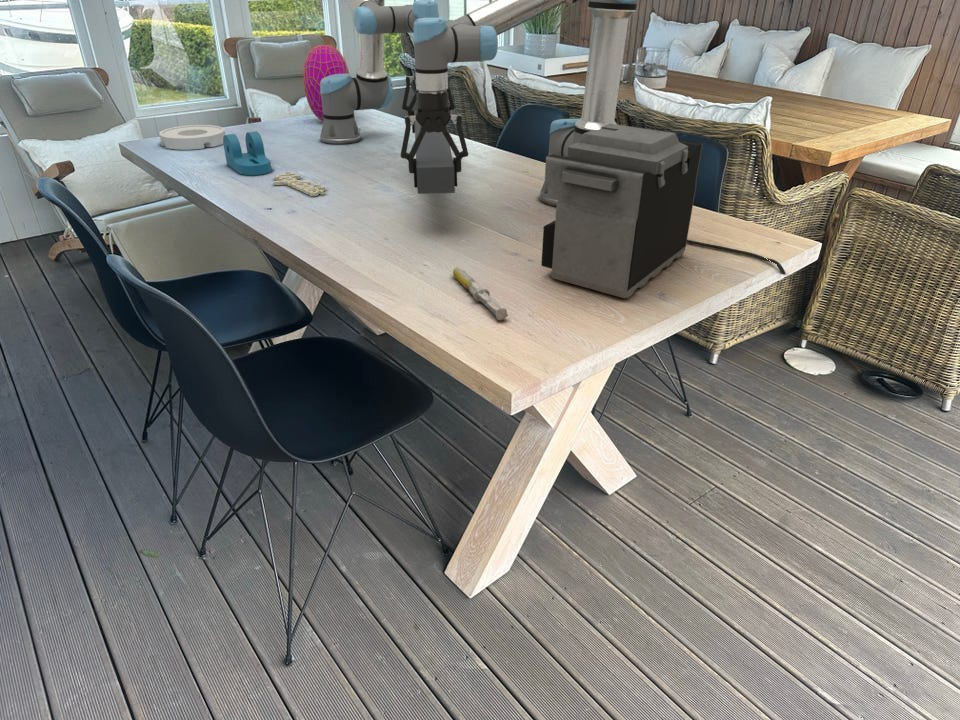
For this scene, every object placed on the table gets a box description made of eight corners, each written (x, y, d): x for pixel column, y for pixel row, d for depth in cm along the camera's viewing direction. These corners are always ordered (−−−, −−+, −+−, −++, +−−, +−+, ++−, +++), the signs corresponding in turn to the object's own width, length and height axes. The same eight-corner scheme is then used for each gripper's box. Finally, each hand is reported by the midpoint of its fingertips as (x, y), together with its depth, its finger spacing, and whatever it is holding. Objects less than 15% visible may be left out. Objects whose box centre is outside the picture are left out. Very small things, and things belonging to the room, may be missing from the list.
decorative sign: (262, 176, 218) (290, 170, 223) (262, 179, 218) (291, 173, 224) (303, 195, 201) (333, 189, 206) (303, 198, 201) (333, 192, 207)
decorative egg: (337, 115, 306) (331, 41, 291) (362, 122, 294) (356, 45, 279) (299, 120, 295) (290, 44, 280) (323, 128, 283) (315, 49, 267)
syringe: (449, 274, 155) (449, 263, 153) (465, 272, 156) (464, 260, 154) (490, 323, 135) (491, 310, 133) (508, 319, 136) (508, 307, 134)
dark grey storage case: (608, 233, 179) (621, 113, 163) (689, 253, 168) (712, 126, 152) (533, 279, 153) (540, 141, 138) (624, 305, 142) (643, 159, 127)
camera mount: (227, 164, 233) (221, 132, 227) (257, 160, 238) (252, 129, 233) (244, 176, 220) (239, 143, 215) (276, 172, 225) (271, 139, 220)
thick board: (454, 192, 170) (454, 166, 166) (417, 193, 169) (416, 167, 166) (442, 130, 227) (442, 110, 224) (414, 131, 226) (413, 110, 223)
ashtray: (176, 134, 270) (174, 124, 268) (235, 135, 269) (233, 125, 267) (150, 149, 250) (147, 137, 248) (213, 150, 249) (211, 139, 247)
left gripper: (462, 55, 215) (462, 129, 226) (391, 55, 213) (395, 129, 225) (463, 58, 208) (463, 134, 220) (390, 58, 207) (394, 135, 218)
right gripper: (477, 87, 166) (477, 179, 177) (385, 89, 164) (392, 182, 176) (479, 93, 159) (480, 188, 171) (384, 94, 158) (391, 191, 169)
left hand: (429, 132), depth 222 cm, fingers closed on thick board, 9 cm apart
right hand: (435, 185), depth 173 cm, fingers closed on thick board, 9 cm apart
